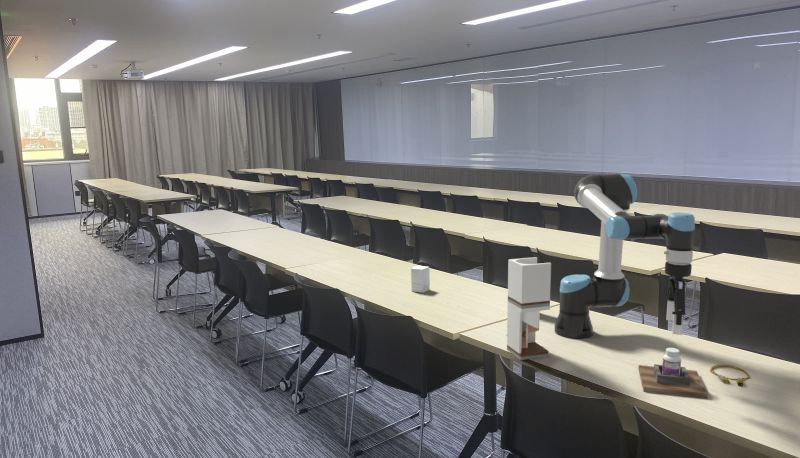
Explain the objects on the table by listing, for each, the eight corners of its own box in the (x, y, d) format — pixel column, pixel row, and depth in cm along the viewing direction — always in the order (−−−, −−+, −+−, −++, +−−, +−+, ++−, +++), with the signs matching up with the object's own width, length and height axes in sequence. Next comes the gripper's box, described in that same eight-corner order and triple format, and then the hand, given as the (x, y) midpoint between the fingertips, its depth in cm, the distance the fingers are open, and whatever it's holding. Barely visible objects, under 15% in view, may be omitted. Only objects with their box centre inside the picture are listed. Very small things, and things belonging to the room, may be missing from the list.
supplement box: (430, 289, 303) (430, 266, 301) (423, 293, 296) (423, 269, 294) (418, 288, 307) (417, 265, 305) (411, 291, 300) (410, 267, 298)
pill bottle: (664, 373, 190) (666, 345, 188) (681, 377, 186) (683, 349, 185) (659, 378, 186) (661, 350, 184) (676, 382, 182) (678, 353, 181)
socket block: (638, 369, 197) (639, 358, 196) (696, 374, 192) (697, 363, 191) (643, 391, 180) (644, 379, 180) (707, 398, 175) (708, 386, 174)
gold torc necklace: (700, 378, 190) (700, 372, 190) (717, 365, 201) (718, 359, 200) (741, 389, 181) (741, 383, 181) (757, 375, 192) (757, 369, 192)
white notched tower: (520, 360, 207) (522, 265, 201) (506, 349, 217) (508, 259, 211) (548, 356, 210) (551, 263, 204) (533, 346, 220) (536, 257, 214)
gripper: (660, 253, 192) (656, 314, 196) (671, 270, 169) (666, 339, 172) (685, 254, 190) (680, 315, 194) (699, 272, 167) (693, 341, 170)
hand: (673, 327), depth 183 cm, fingers open, 13 cm apart
